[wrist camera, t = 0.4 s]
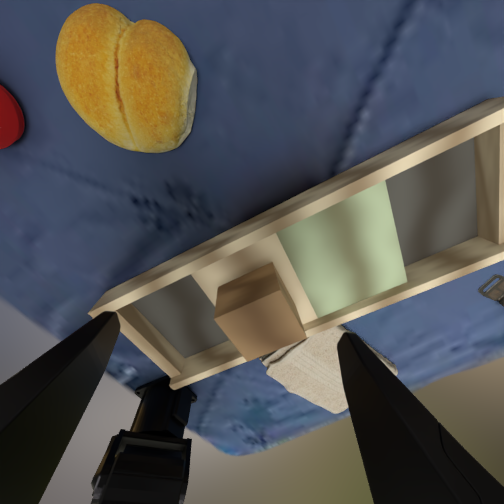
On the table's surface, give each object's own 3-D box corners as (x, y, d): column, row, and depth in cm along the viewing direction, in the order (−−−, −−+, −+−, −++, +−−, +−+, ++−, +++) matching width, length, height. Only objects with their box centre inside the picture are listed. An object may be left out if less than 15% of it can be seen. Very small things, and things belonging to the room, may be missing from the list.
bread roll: (69, -1, 15) (17, -43, 12) (204, 44, 17) (195, 19, 13) (78, 135, 19) (41, 134, 15) (189, 163, 20) (179, 168, 16)
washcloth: (315, 301, 28) (324, 318, 25) (395, 360, 34) (409, 379, 31) (252, 355, 32) (254, 375, 29) (334, 399, 38) (342, 420, 35)
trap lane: (180, 364, 31) (173, 390, 28) (106, 291, 25) (87, 313, 22) (489, 236, 25) (526, 250, 22) (488, 99, 19) (537, 91, 16)
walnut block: (245, 326, 25) (247, 361, 21) (217, 287, 23) (213, 319, 19) (295, 305, 24) (307, 338, 20) (272, 261, 22) (280, 289, 18)
